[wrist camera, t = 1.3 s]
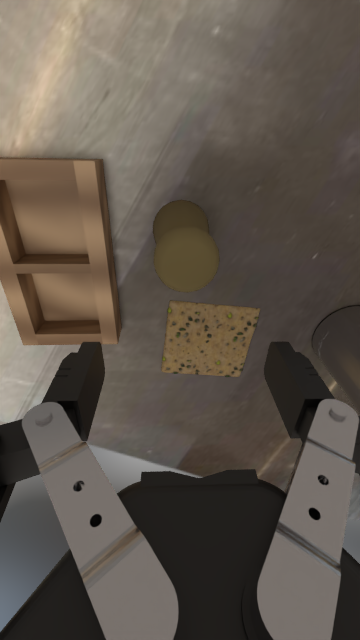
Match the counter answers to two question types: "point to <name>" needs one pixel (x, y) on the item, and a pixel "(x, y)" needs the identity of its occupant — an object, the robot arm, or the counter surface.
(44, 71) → the counter surface
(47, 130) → the counter surface
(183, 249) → the olive game pawn
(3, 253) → the caddy
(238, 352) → the tan speckled flat square
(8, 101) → the counter surface
